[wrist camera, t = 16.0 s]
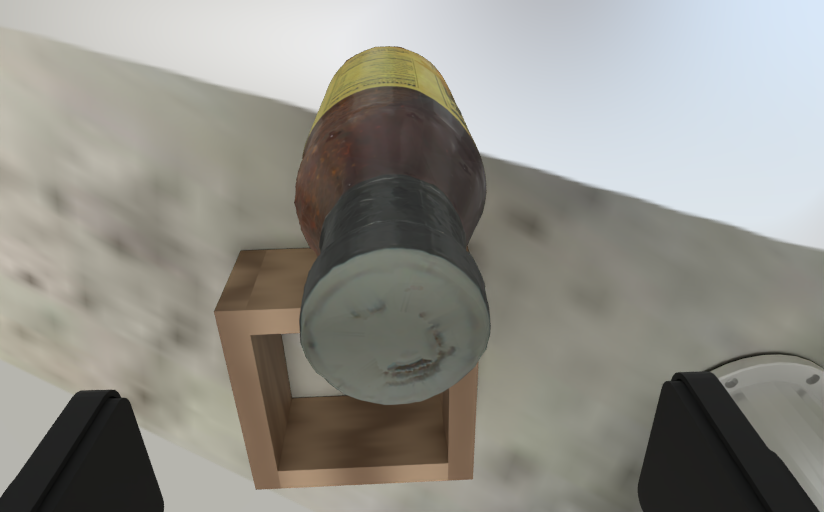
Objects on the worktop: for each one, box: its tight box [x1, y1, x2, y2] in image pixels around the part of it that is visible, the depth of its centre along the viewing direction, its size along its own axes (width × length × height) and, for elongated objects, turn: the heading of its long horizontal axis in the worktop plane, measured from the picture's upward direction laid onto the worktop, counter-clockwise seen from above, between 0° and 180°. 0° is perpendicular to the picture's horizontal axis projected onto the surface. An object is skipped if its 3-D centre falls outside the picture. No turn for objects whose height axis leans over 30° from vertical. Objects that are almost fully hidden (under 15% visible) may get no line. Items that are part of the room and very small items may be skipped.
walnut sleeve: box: [214, 247, 478, 490], centre depth 34 cm, size 13×13×6 cm
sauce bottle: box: [294, 46, 491, 405], centre depth 21 cm, size 6×6×20 cm
